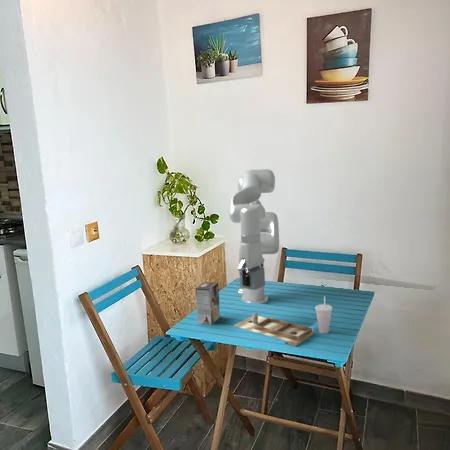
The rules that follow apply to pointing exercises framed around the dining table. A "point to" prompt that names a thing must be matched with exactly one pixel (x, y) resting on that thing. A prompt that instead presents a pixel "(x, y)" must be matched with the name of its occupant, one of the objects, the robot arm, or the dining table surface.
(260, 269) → the gray cube
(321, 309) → the smoothie
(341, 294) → the dining table surface
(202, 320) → the coffee box
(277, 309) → the dining table surface
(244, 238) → the robot arm
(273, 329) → the board
